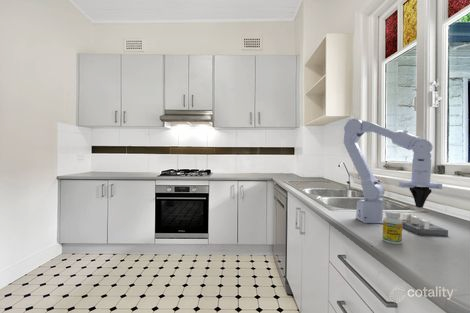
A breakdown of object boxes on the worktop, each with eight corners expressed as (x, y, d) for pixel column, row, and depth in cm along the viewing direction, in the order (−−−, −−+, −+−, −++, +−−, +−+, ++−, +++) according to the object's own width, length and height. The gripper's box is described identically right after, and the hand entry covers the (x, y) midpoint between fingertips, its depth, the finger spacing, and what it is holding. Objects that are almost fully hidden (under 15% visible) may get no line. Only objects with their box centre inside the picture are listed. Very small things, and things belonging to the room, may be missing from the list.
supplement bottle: (398, 240, 84) (400, 211, 84) (404, 245, 79) (405, 214, 78) (380, 237, 85) (381, 209, 85) (384, 243, 80) (385, 213, 80)
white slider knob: (414, 224, 95) (415, 217, 95) (410, 222, 97) (410, 215, 97) (419, 224, 95) (419, 217, 95) (414, 222, 97) (415, 215, 97)
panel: (417, 234, 90) (417, 221, 90) (395, 224, 103) (396, 212, 103) (447, 236, 89) (448, 222, 89) (422, 225, 102) (422, 213, 102)
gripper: (408, 171, 92) (406, 208, 92) (449, 172, 91) (447, 210, 92) (396, 169, 99) (394, 204, 99) (435, 171, 98) (433, 206, 99)
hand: (419, 207), depth 96 cm, fingers closed
